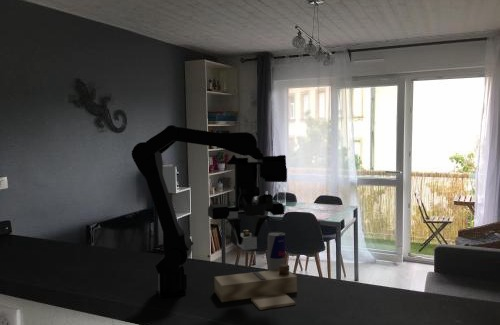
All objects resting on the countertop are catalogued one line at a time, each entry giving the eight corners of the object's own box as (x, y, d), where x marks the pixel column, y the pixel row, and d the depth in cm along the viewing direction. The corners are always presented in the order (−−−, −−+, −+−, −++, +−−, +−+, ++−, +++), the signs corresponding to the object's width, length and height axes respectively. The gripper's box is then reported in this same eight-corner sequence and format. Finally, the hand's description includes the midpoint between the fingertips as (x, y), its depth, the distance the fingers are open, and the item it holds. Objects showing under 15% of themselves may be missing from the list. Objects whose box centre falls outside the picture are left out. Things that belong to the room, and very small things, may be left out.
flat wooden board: (259, 309, 94) (259, 307, 94) (251, 300, 100) (251, 298, 100) (295, 304, 97) (295, 302, 97) (285, 295, 103) (285, 293, 103)
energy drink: (284, 278, 116) (284, 236, 116) (266, 277, 117) (266, 235, 117) (287, 272, 121) (286, 232, 121) (269, 271, 123) (269, 231, 122)
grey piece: (243, 250, 101) (243, 233, 101) (236, 244, 106) (236, 228, 106) (256, 248, 102) (256, 232, 102) (249, 243, 107) (249, 227, 107)
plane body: (221, 302, 99) (221, 277, 99) (214, 292, 106) (214, 269, 105) (296, 291, 106) (296, 268, 105) (285, 283, 112) (285, 261, 112)
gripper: (218, 187, 93) (219, 255, 94) (293, 183, 99) (293, 247, 100) (207, 182, 103) (207, 244, 104) (275, 179, 109) (275, 237, 110)
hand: (246, 243), depth 104 cm, fingers closed on grey piece, 3 cm apart
